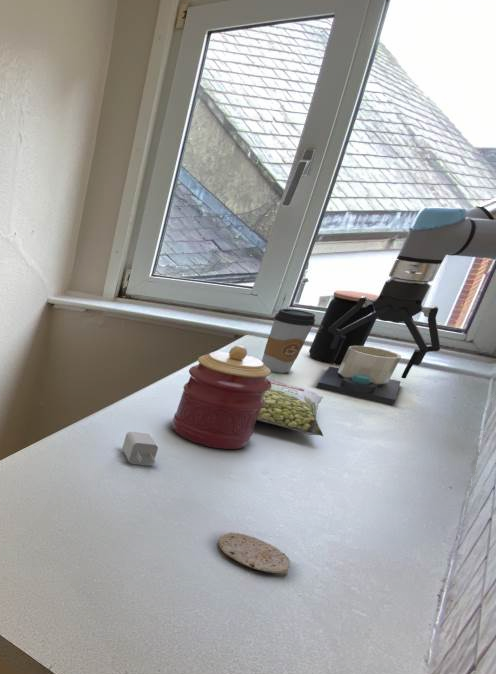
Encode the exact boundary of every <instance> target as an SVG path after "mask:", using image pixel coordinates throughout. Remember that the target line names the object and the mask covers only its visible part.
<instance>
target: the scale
mask: <svg viewBox="0 0 496 674" xmlns="http://www.w3.org/2000/svg"><path fill="white" fill-rule="evenodd" d="M339 368H340V367H334V366H328V368H327V369H326V371H325V372H324V374H323V375H322V377H321V378H320V379H319V381H318V382H317V384H316V388H317V389H320V390H325V391H330V392H334V393H338V394H342V395H345V396H351V397H355V398H358V399H359V398H360V399H362V400H363V399H364V400H368V401H372V402H376V403H381V404H385V405H389V406H394V404H395V402H396V399H397V397H398V393H399V389H400V386H401V381H400V380H395V379H391V378H390V380H389V382H388V383H385V384H380V385H377V384H375V383H373V382H371V381H370V382H369V385H364V384H358V383H355V382H352V381H351V380H352V377H342V376H341V375H340V374H339V373H338V370H339Z"/></svg>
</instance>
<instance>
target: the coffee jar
mask: <svg viewBox="0 0 496 674" xmlns="http://www.w3.org/2000/svg"><path fill="white" fill-rule="evenodd" d="M363 296H365V297H367V298H369V299H373V300H376V299H377V298H378V297H379V295H377V294H373V293H368V292H362V291H353V290H335V291H334V292H333V298H332V299H331V300H330V301H329V303H328V305H327V308H326V310H325V313H324V315H323V317H322V320H321V322H320V324H319V326H318V329H317V332H316V334H315V336H314V338H313V341H312V343H311V345H310V348H309V350H308V353H309V356H310V358H312V359H313V360H316V361H318V362H322V363H327V364H333V365H337V366H338V365H341V363H342V361H343V359H344V357H345V355H346V352H347V350H348V348H349V346H365V344H366V342H367V340H368V338H369V336H370V334H371V331H372V329H373V327H374V325H375V324H376V320H377V319H378V317H377V318H375V319H373V320H371V321H369V322H367V323H365V324H363V325H361V326H359V327H357V328H355V329H353V330H351V331H349V332H348V333H346V334H344V335H342V336H346V337H345V339H344V341H343V343H342V346H341V348H340V350H339V352H338V355H337V357H336V359H335V361H334V363H329V362H330V360H331V357H332V355H333V353H334V351H335V349H331V348H330V346H331V344H332V341H333V339H334V334H332V333H331V332H328V329H329V327H330V326H332V325H333V324H334V323H335V322H336V321H338V320H339V319H340V318H341V317H342V316H344V315H345V314H346V313H347V312H348V311H350V310H351V309H352V308H353V307H354V306H356V304H357V303H358V301H359V299H360V298H361V297H363ZM374 311H375V310H374V308H373V305H372V304H370V305H368V306H367V307H361V309H360V310H359V311H357V312H356V313H355V314H354V315H353V316H351V317H350V318H349V319H348V320H346V321H345V322H344V323H343V324H342V325H340V326H339V327H338V328H337V329H339V330H341V329H343V328H344V327H346V326H348V325H350V324H352V323H354V322H356V321H358V320H360V319H361V318H363V317H365V316H367V315H369V314H371V313H372V312H374Z"/></svg>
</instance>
